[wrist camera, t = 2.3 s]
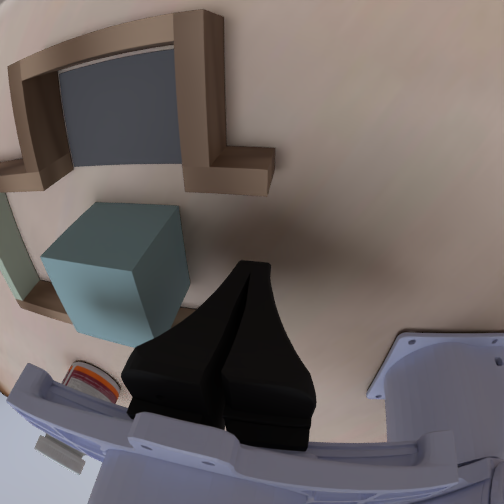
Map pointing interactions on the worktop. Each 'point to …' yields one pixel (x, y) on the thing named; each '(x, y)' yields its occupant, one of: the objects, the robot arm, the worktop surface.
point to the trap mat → (123, 111)
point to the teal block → (121, 271)
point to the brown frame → (188, 105)
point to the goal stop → (14, 255)
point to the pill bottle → (88, 383)
